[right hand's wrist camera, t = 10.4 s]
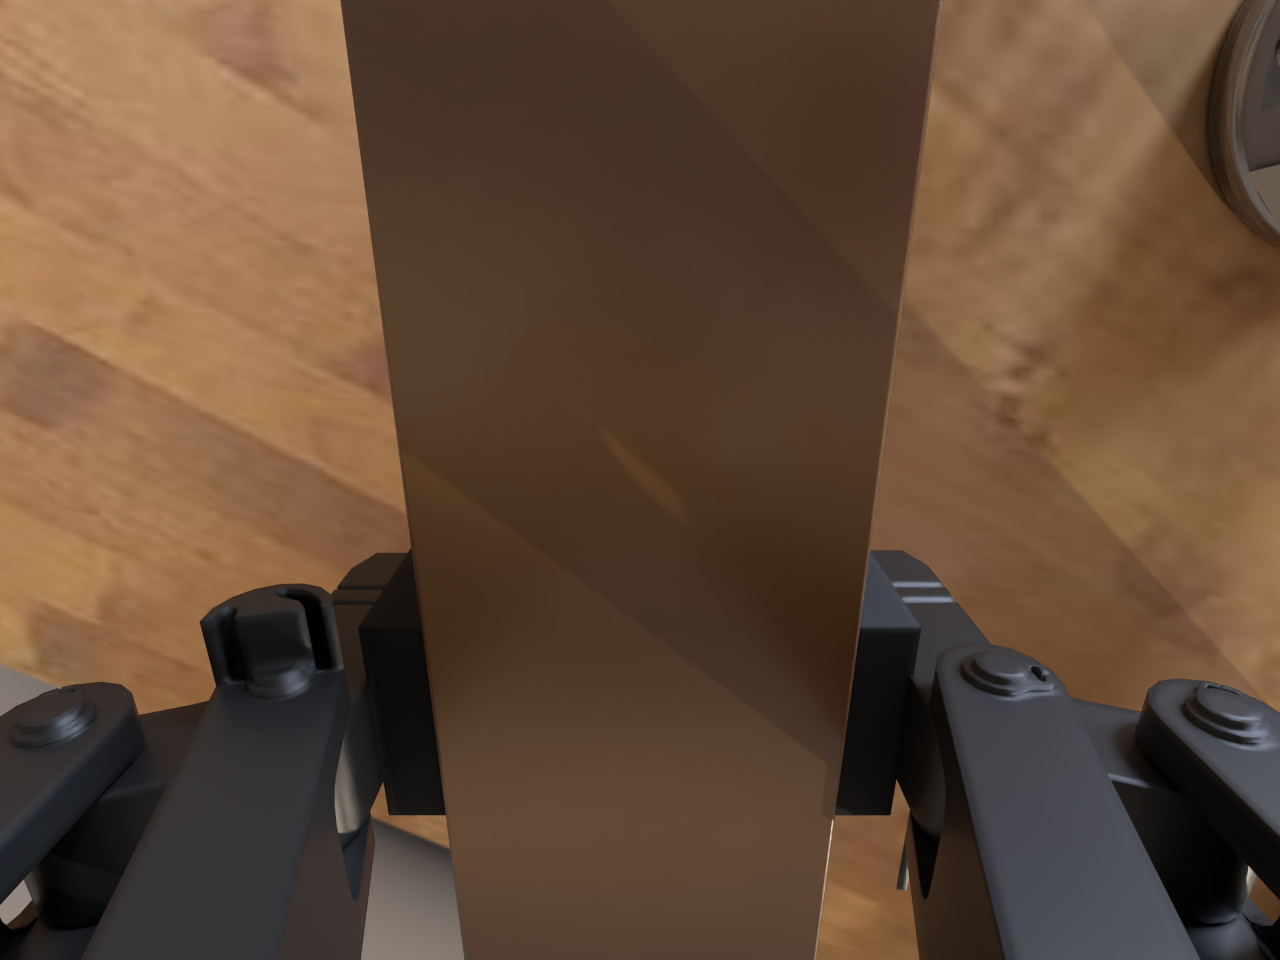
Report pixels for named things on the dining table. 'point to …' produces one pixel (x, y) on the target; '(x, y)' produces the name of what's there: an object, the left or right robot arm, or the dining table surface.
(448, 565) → the post
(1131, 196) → the dining table surface
